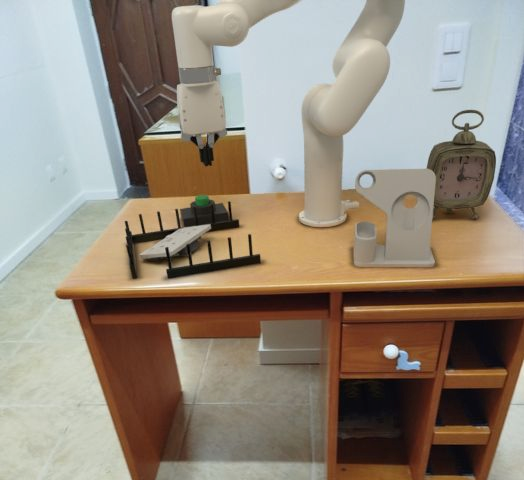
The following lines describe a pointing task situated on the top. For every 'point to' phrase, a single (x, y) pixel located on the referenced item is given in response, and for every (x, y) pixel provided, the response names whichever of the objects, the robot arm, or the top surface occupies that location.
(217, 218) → the control block
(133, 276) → the dish rack
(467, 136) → the tabletop clock
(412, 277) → the top surface
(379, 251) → the phone holder
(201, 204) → the button
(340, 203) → the robot arm
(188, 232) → the wall socket
